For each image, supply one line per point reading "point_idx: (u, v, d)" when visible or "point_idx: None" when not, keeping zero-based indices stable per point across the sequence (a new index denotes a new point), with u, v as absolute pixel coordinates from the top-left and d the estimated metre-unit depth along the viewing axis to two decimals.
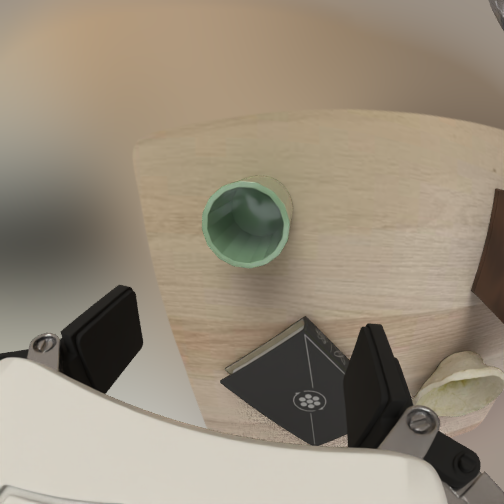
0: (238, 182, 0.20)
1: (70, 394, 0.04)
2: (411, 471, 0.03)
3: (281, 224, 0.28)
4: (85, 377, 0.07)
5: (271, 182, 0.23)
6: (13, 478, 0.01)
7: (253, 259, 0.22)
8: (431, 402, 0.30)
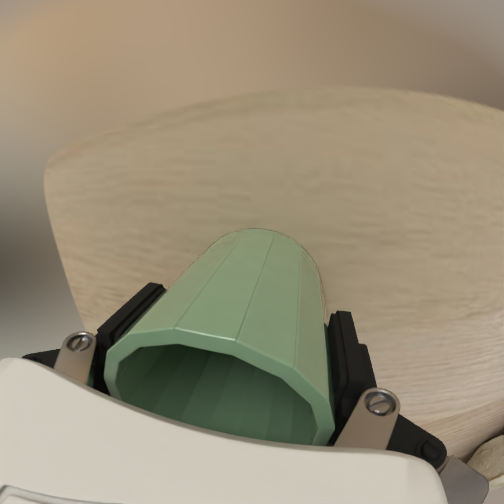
0: (173, 331, 0.05)
1: (70, 394, 0.04)
2: (411, 471, 0.03)
3: None
4: None
5: (283, 270, 0.09)
6: (13, 478, 0.01)
7: None
8: None
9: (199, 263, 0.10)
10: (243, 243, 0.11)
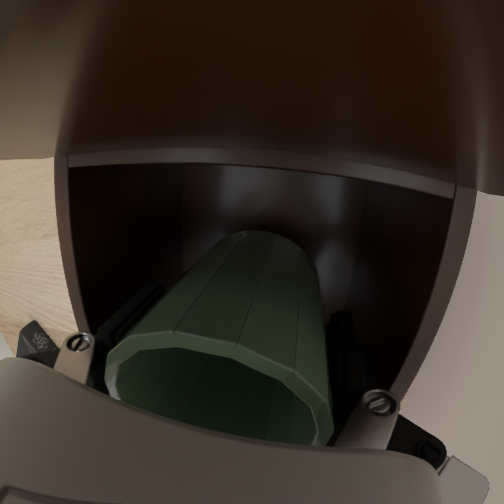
0: (173, 334, 0.05)
1: (70, 394, 0.04)
2: (411, 471, 0.03)
3: None
4: None
5: (283, 272, 0.09)
6: (13, 478, 0.01)
7: None
8: None
9: (199, 265, 0.10)
10: (243, 245, 0.11)
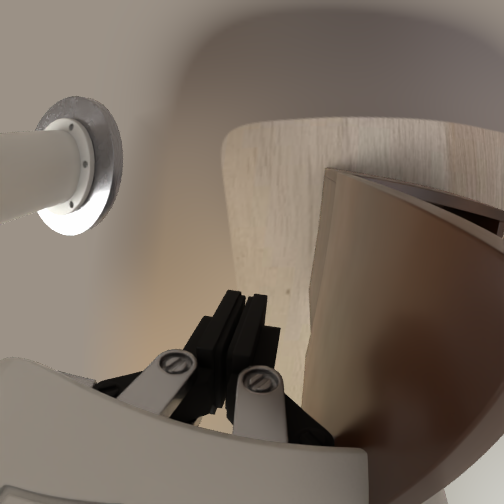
0: None
1: (70, 394, 0.04)
2: None
3: None
4: (213, 391, 0.08)
5: None
6: (13, 478, 0.01)
7: None
8: None
9: None
10: None
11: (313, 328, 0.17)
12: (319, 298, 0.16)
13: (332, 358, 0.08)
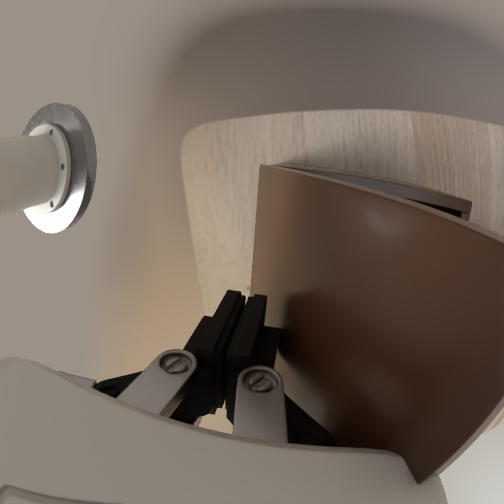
0: None
1: (70, 394, 0.04)
2: None
3: None
4: (213, 391, 0.08)
5: None
6: (13, 478, 0.01)
7: None
8: None
9: None
10: None
11: None
12: (252, 293, 0.16)
13: (295, 353, 0.09)
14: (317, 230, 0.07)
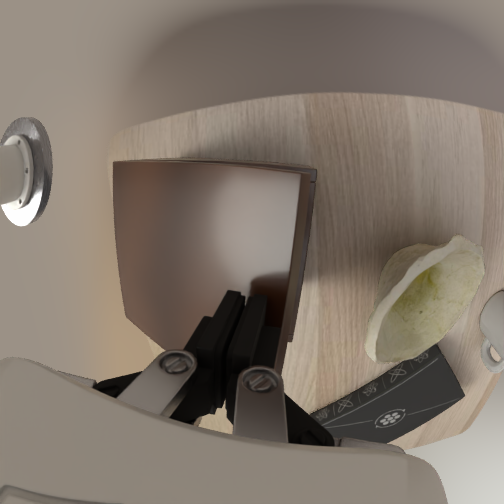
0: None
1: (70, 394, 0.04)
2: (411, 471, 0.03)
3: None
4: (213, 391, 0.08)
5: None
6: (13, 478, 0.01)
7: None
8: (448, 308, 0.24)
9: None
10: None
11: (125, 288, 0.19)
12: (121, 262, 0.19)
13: (183, 271, 0.14)
14: (184, 190, 0.13)
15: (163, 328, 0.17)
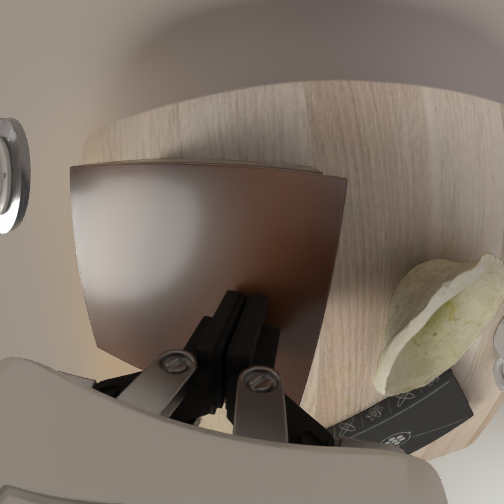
0: None
1: (70, 394, 0.04)
2: (411, 471, 0.03)
3: None
4: (213, 391, 0.08)
5: None
6: (13, 478, 0.01)
7: None
8: (464, 330, 0.20)
9: None
10: None
11: (95, 315, 0.15)
12: (87, 286, 0.15)
13: (187, 290, 0.12)
14: (188, 197, 0.11)
15: (155, 355, 0.14)
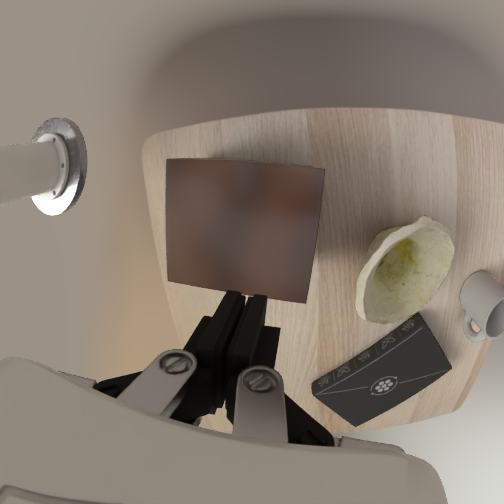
0: None
1: (70, 394, 0.04)
2: (411, 471, 0.03)
3: None
4: (213, 391, 0.08)
5: None
6: (13, 478, 0.01)
7: None
8: (426, 281, 0.31)
9: None
10: None
11: (174, 254, 0.27)
12: (171, 234, 0.26)
13: (249, 224, 0.24)
14: (253, 177, 0.23)
15: (220, 271, 0.26)
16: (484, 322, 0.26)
